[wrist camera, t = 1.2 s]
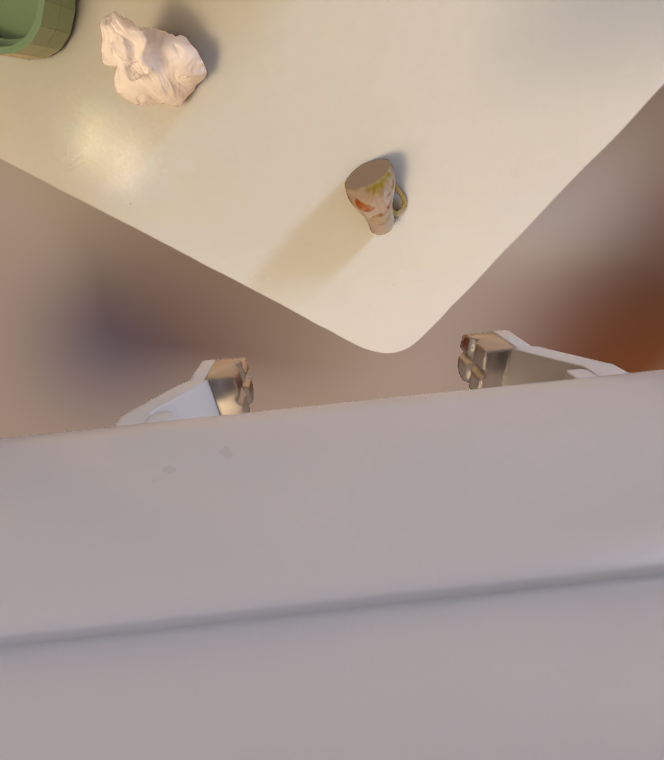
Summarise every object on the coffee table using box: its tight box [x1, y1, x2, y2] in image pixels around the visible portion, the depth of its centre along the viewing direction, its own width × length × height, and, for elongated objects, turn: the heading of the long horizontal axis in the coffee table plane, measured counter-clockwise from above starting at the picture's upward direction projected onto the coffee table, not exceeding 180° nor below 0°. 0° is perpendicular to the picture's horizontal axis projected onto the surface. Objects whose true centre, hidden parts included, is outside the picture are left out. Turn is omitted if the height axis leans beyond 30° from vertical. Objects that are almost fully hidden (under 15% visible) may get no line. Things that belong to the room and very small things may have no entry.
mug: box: [345, 159, 407, 235], centre depth 46 cm, size 8×10×10 cm
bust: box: [100, 12, 207, 106], centre depth 37 cm, size 12×8×11 cm
